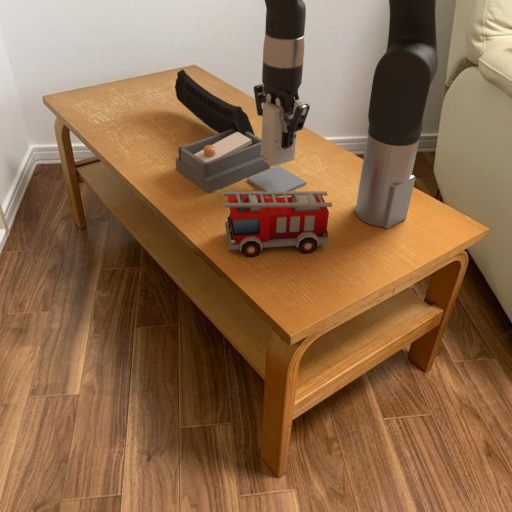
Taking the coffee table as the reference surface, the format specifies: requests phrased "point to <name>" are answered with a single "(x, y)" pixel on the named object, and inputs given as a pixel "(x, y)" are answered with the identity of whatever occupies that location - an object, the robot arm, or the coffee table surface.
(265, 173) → the slate mat
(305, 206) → the toy fire truck
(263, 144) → the skincare box
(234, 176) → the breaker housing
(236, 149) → the white block with knob
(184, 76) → the magazine
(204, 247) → the coffee table surface
